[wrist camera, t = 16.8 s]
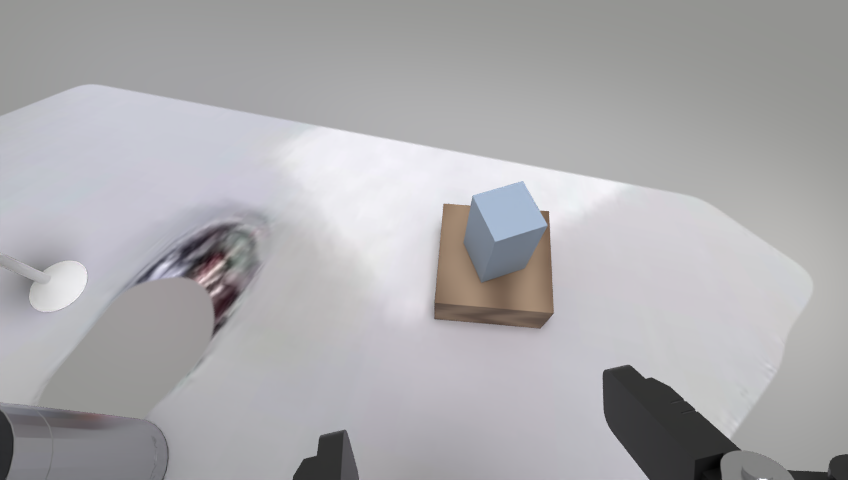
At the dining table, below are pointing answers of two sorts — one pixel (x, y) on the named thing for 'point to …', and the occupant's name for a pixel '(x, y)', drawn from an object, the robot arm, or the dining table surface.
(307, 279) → the dining table surface
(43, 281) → the champagne flute
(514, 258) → the slate blue pillar block
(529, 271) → the walnut block
